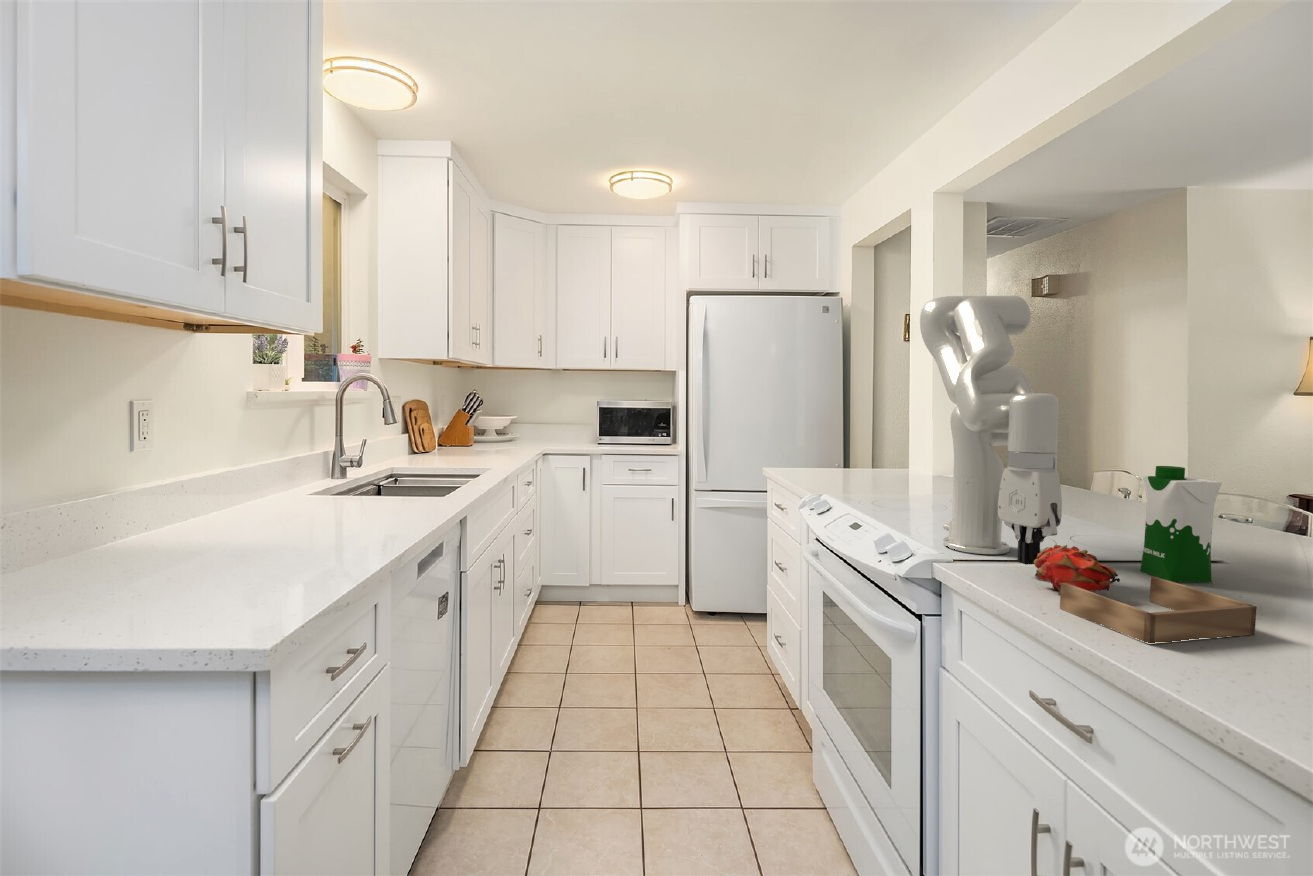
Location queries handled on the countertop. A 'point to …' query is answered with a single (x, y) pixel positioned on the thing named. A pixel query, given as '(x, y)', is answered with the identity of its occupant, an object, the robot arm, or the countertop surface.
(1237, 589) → the countertop surface
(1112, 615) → the tray
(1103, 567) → the dragon fruit
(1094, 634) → the countertop surface
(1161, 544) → the milk carton
